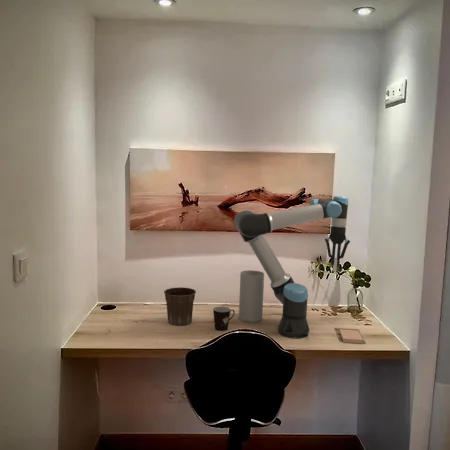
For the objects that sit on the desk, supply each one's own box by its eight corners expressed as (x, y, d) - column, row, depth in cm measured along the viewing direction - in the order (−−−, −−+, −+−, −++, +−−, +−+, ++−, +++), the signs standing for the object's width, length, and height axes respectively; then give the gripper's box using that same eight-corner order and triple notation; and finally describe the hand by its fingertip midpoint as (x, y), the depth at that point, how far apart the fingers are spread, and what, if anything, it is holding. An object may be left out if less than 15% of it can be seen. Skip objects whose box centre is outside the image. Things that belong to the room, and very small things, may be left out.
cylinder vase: (254, 324, 233) (256, 276, 231) (234, 319, 241) (235, 272, 238) (266, 318, 243) (268, 272, 241) (247, 313, 251) (248, 269, 248)
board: (333, 329, 229) (334, 327, 228) (358, 331, 227) (358, 329, 227) (339, 344, 210) (339, 341, 210) (365, 346, 209) (366, 343, 208)
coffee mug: (214, 332, 220) (214, 312, 219) (211, 326, 228) (211, 306, 227) (237, 331, 222) (238, 311, 221) (233, 325, 231) (234, 306, 229)
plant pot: (157, 323, 230) (157, 292, 228) (175, 314, 244) (175, 285, 242) (184, 329, 222) (184, 297, 220) (201, 320, 237) (201, 290, 234)
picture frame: (339, 329, 221) (343, 338, 209) (358, 330, 220) (363, 339, 208) (339, 333, 221) (342, 342, 209) (358, 334, 220) (362, 343, 208)
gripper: (350, 226, 236) (346, 270, 239) (324, 224, 237) (321, 268, 240) (352, 227, 229) (348, 273, 232) (326, 226, 230) (322, 271, 233)
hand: (334, 270), depth 236 cm, fingers closed
